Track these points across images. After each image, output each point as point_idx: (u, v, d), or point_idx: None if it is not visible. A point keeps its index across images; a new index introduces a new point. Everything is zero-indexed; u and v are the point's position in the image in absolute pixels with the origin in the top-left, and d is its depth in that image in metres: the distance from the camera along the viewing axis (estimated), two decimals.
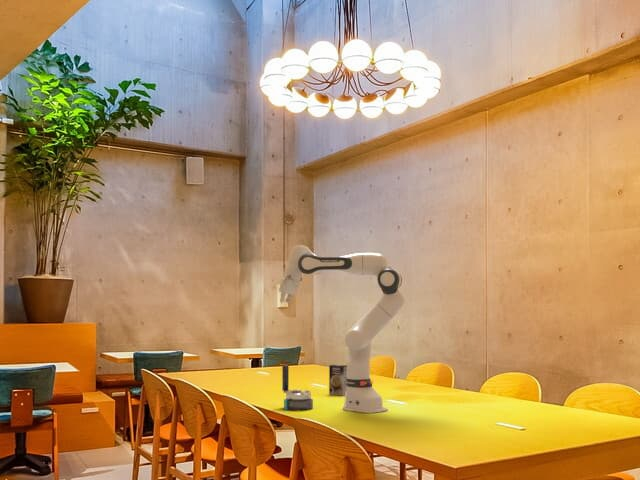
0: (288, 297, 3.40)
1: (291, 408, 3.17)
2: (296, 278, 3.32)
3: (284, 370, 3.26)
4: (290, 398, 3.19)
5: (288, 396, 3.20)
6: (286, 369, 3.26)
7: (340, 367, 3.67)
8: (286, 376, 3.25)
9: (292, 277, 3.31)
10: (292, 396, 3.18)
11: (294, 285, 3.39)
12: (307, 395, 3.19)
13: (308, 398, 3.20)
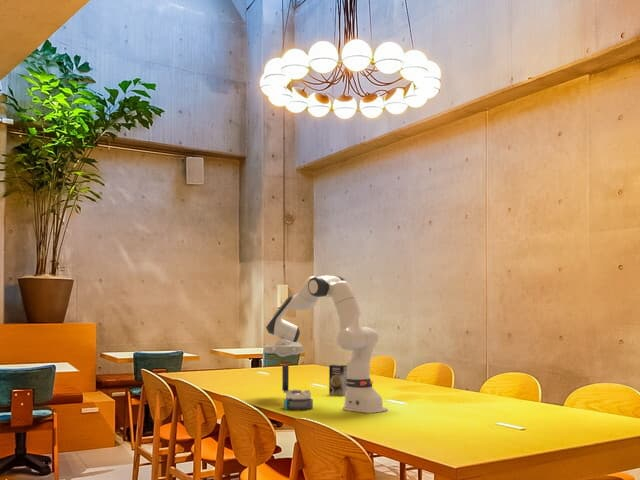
0: None
1: (291, 408, 3.17)
2: (277, 341, 3.52)
3: (284, 370, 3.26)
4: (290, 398, 3.19)
5: (288, 396, 3.20)
6: (286, 369, 3.26)
7: (340, 367, 3.67)
8: (286, 376, 3.25)
9: (275, 345, 3.52)
10: (292, 396, 3.18)
11: (290, 345, 3.49)
12: (307, 395, 3.19)
13: (308, 398, 3.20)
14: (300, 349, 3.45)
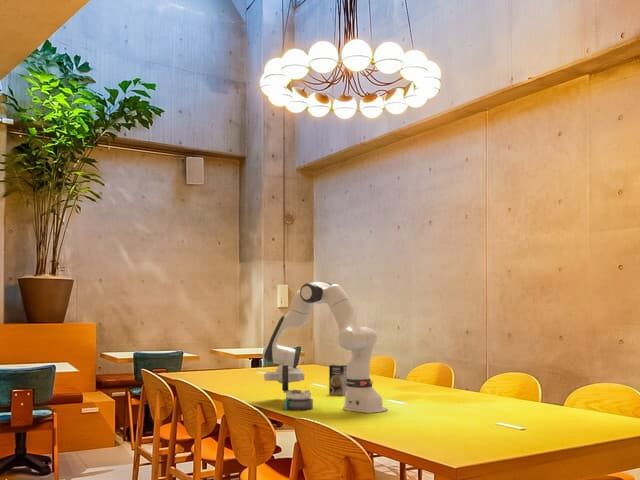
0: None
1: (291, 408, 3.17)
2: (278, 368, 3.41)
3: (284, 370, 3.26)
4: (290, 398, 3.19)
5: (288, 396, 3.20)
6: (286, 369, 3.26)
7: (340, 367, 3.67)
8: (286, 376, 3.25)
9: (276, 372, 3.41)
10: (292, 396, 3.18)
11: (291, 372, 3.38)
12: (307, 395, 3.20)
13: (308, 398, 3.20)
14: (302, 376, 3.33)
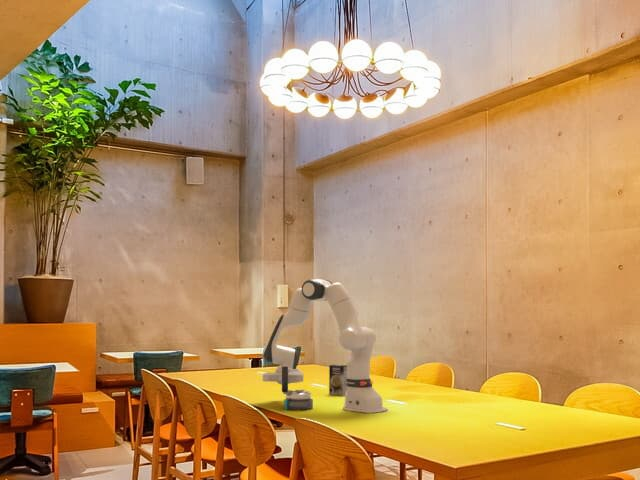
0: None
1: (291, 408, 3.17)
2: (277, 369, 3.36)
3: (286, 371, 3.20)
4: (299, 398, 3.17)
5: (296, 397, 3.17)
6: (287, 370, 3.21)
7: (340, 367, 3.67)
8: (287, 377, 3.21)
9: (275, 372, 3.36)
10: (301, 396, 3.18)
11: (290, 373, 3.32)
12: (310, 394, 3.24)
13: None
14: (300, 377, 3.28)
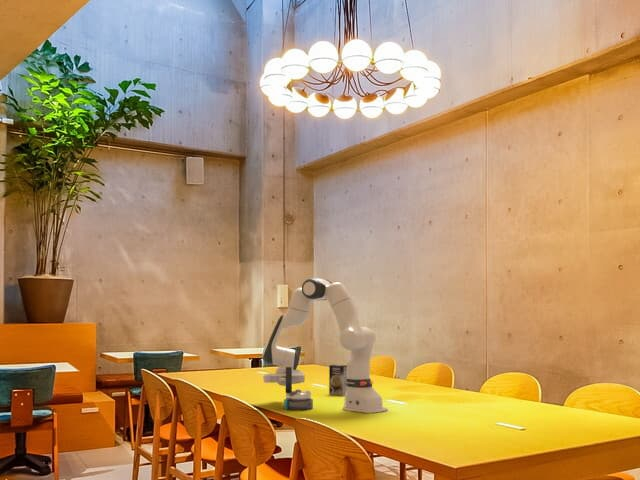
0: None
1: (291, 408, 3.17)
2: (278, 370, 3.33)
3: (291, 372, 3.18)
4: (305, 398, 3.18)
5: (302, 397, 3.18)
6: (291, 370, 3.19)
7: (340, 367, 3.67)
8: (291, 378, 3.19)
9: (275, 373, 3.33)
10: (307, 396, 3.19)
11: None
12: None
13: None
14: (302, 378, 3.25)
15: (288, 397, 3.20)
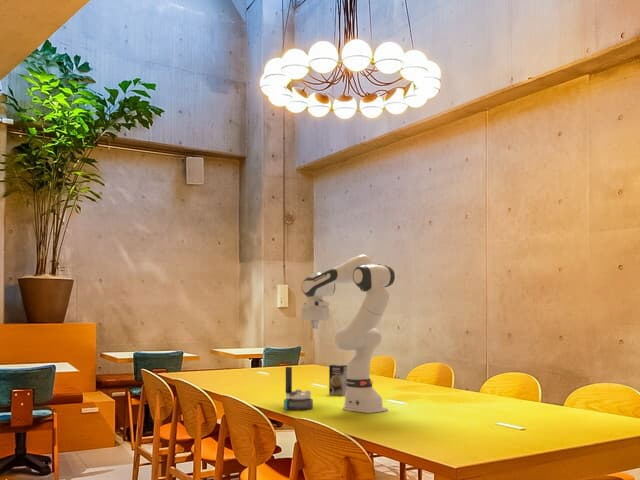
0: None
1: (291, 408, 3.17)
2: None
3: (291, 372, 3.18)
4: (305, 398, 3.18)
5: (302, 397, 3.18)
6: (291, 370, 3.19)
7: (340, 367, 3.67)
8: (291, 378, 3.19)
9: None
10: (307, 396, 3.19)
11: (316, 311, 3.51)
12: None
13: None
14: None
15: (288, 397, 3.20)
